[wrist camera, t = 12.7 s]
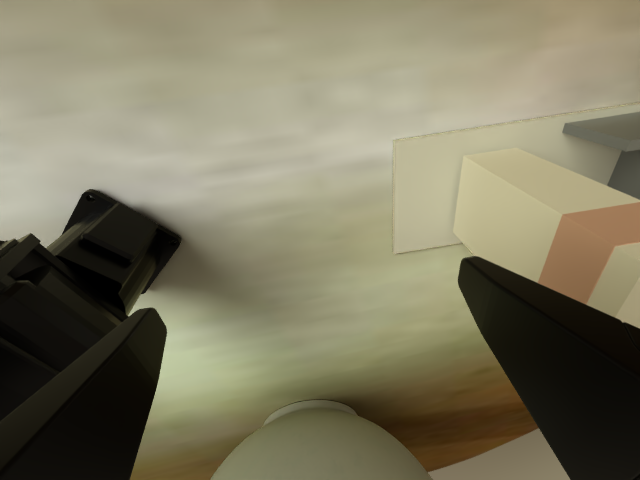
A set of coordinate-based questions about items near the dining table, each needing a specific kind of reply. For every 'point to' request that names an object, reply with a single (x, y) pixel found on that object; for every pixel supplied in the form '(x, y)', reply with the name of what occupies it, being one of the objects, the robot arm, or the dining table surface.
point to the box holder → (528, 135)
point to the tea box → (552, 228)
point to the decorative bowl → (320, 448)
